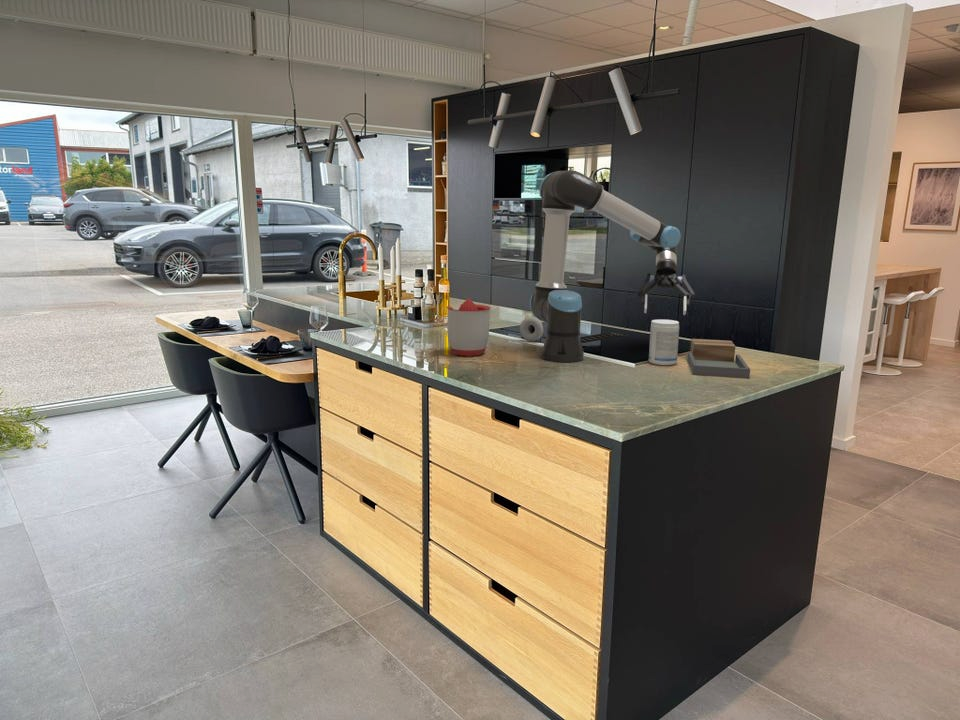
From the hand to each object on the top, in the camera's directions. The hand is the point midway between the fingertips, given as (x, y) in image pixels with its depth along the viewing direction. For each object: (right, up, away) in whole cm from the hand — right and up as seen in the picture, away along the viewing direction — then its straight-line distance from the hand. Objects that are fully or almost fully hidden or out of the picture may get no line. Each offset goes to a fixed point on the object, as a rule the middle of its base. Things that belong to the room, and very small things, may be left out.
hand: (665, 311), depth 242 cm
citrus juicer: (-71, -15, +4) cm, 73 cm away
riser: (+17, -17, +2) cm, 24 cm away
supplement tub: (-3, -18, -6) cm, 20 cm away
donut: (-46, -10, +27) cm, 54 cm away
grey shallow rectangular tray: (+14, -20, -13) cm, 28 cm away
